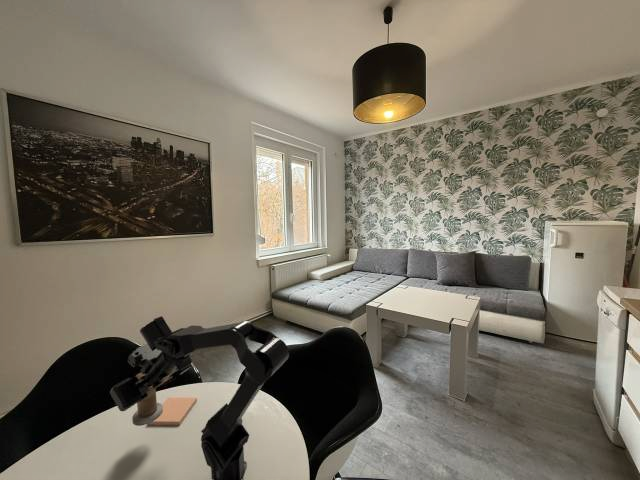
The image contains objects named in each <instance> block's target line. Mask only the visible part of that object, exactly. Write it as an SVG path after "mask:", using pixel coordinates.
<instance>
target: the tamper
mask: <svg viewBox="0 0 640 480" xmlns="http://www.w3.org/2000/svg"><path fill="white" fill-rule="evenodd" d="M144 375H145V374H142V373H141V372H139V373H137V374H136V375H135V376H134V378H135V377H137V378H138V380H139V381H140V382H141V381H142V380H141V379H140V378H141V377H142V376H144ZM146 386H147V385H146ZM156 389H157V387H156V388H155V389H154V388H153V386H152V387H150V388H148V391H147V394H148V396H147V397H146V398H144V399H142V400H141V401H139V402H137V403H136V407H137V410H136V411H135V412H134V413H133V415H132V417H131V419H132V424H133V425H134V426H136V427H139V426H146V425H147V424H149V423H151V422H153V421H154V420H156V419H157V418H158V417H159V416H160V415H161V414H162V412H163V406H162V404H163V403H162V404H161V403H159V402H157V400H158V399H157V390H156Z"/></svg>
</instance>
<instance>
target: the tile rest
mask: <svg viewBox="0 0 640 480" xmlns="http://www.w3.org/2000/svg"><path fill="white" fill-rule="evenodd" d="M197 402H198V397H167V398H166V399H165V401H163V403H162V406H163V412H162V414H161V415H160V416H159V417H158V418H157V419H156V420H154V421H153V422H151V423H149V424H146V425H150V426H151V425H159V426H161V425H163V426H165V425H170V426H171V425H175V426H176V425H177V426H178V425H181V424H182V422H184V419H185V418H186V417H187V415H188V414H189V412H190V411H191V410H192V408H193V407H194V406H195V405H196V403H197Z"/></svg>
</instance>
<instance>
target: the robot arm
mask: <svg viewBox="0 0 640 480" xmlns="http://www.w3.org/2000/svg"><path fill="white" fill-rule="evenodd" d="M139 333H140V334H141V337H143V340H144V341H145V342H146V344H143V345H141V346H140V347H138V348H136V349H135V350H134V351H132V353H131V354H129V356H128V358H127V363H128V364H129V365H130V366H131V367H132V368H135V367H138V366H139V367H141V369H140V370H139V371H140V373H142V374H145V375H144V376H142V377H141V378H140V379H141V380H142V381H141V382H140V381H139V380H138V378H137V377H135V376H134V377H127V378H125V379H124V380H122V381H120V382H118V383H117V384H114V385H113V387H112V388H111V390H110V391H109V394H110V396H111V398H112V399H113V401H114V403H115V405H116V406H117V408H118V410H119V412H126V411H127V410H129V409H130V408H131V407H133V406H134V405H137V402H139V401H141V400H142V399H144V398H146V397H147V396H148V394H147V391H148V388H150V387H152V386H153V388H154V389H155V388H156V389H157V388H158V387H160V386H162V385H166V384H168V383H170V382H172V381H173V380H175V379H176V378H177V377H179V376H178V375H182V374H184V373H185V372H187V371H189V369H190V368H191V367H192V363H193V360H192V358H191V356H190V353H193V352H195V351H197V350H205V349H211V348H218V347H225V346H226V347H227V346H231V347H233V348H234V349H235V351H236V354H237V357H238V361H239V363H241V365H242V367H243V366H244V368H245V369H244V371H245V377H244V379H243V380H242V382H241V384H240V385H239V387H238V388H237V390H236V391H235V394H234V395H233V397H232V398H231V399H230V401H229V402H228V403H225V404H224V405H223V406H222V407H221V408H219V410H218V411H217V412H215V414H214V415H212V416H211V417H210V418H209V419H208V420H207V422H206V424H205V427H204V428H203V429H202V430H201V431H200V433H202V434H201V437H200V442H201V444H200V446H201V450H202V453H203V456H204V460H205V462H206V465H207V467H210V471H211V480H241V479H242V480H243V478H244V475H245V471H246V469H247V461H245V454H244V452H245V450H244V446H245V445H246V444H247V442H248V441H249V438H250V434H249V432H248V431H247V429H246V428H245V427H244V425H243V416H244V415H245V413H246V411H247V410H248V409H249V407H250V405H251V404H252V402H253V401H254V399H255V398H256V396H257V395H258V393H259V392H260V390H261V389H262V387H263V385H265V383H266V382H267V381H268V380H269V379H270V378H271V377H272V376H273V375H274V374H275V373H276V371H278V370H279V369H280V368H281V367H282V366H283V365H284V363H285V362H286V361H287V360H288V359H289V357H290V351H289V348H288V346H287V344H286V343H285V341H284V340H282V339H280V338H279V337H278V336H277V335H276V334H274V333H273V332H272V331H271V330H268V329H263V328H261V327H257V326H256V325H254V323H252V322H251V321H249V320H242V321H239V322H236V323H231V324H223V325H219V326H218V325H217V326H213V327H211V326H210V327H208V328H207V327H206V328H205V327H203V326H202V325H190V326H187V327H181V328H179V329H176V330H174V331H172V330H171V327H169V325H168V324H167V322H166V320H165V319H164V317H163V315H161V316H158V317H156V318H153V320H152V321H150V322H149V323H147V324H146V325H145V326H143V327H141V328H140V330H139ZM247 340H249V341H251V342H255V343H257V344H261V346H260V347H259V348H257V349H256V350H255V351H252V350H251V349H250V348H249V347H248V344H247ZM177 371H179V372H177ZM146 385H147V386H146ZM242 477H243V478H242Z"/></svg>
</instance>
